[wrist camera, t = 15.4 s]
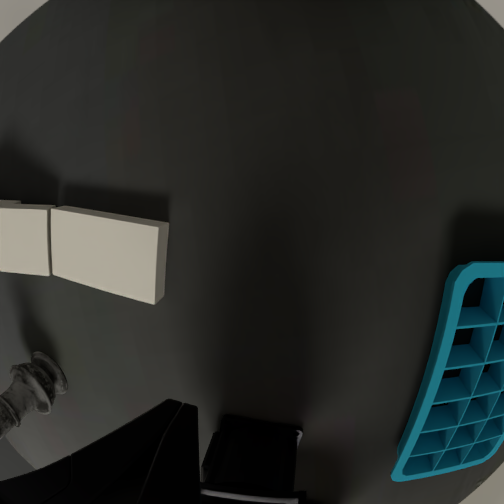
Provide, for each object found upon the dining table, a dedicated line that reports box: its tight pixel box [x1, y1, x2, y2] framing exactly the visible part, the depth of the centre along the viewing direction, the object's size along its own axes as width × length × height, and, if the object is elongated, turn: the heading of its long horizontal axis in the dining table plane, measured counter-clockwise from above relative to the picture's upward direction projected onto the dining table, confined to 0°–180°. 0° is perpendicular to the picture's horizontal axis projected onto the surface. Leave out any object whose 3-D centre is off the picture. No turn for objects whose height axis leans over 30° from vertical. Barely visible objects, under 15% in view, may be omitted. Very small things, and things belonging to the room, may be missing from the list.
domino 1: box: [0, 203, 56, 276], centre depth 19 cm, size 2×5×9 cm
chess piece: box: [0, 351, 68, 439], centre depth 20 cm, size 6×6×12 cm
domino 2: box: [51, 206, 169, 305], centre depth 20 cm, size 2×5×9 cm
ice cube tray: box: [391, 261, 504, 482], centre depth 17 cm, size 12×20×3 cm, turn 1°
